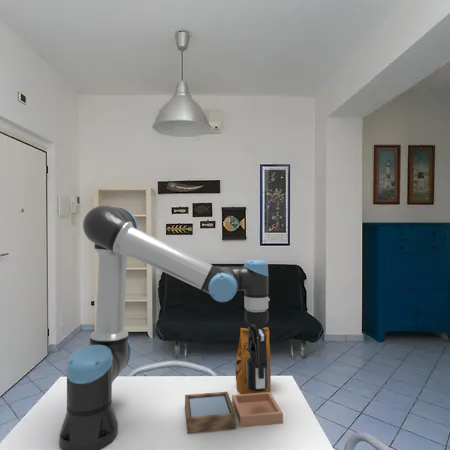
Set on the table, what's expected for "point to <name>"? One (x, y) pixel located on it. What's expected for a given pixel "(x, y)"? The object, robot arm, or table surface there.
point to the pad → (208, 406)
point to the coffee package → (241, 362)
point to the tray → (256, 409)
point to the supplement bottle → (254, 372)
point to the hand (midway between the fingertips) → (257, 382)
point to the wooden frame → (210, 416)
